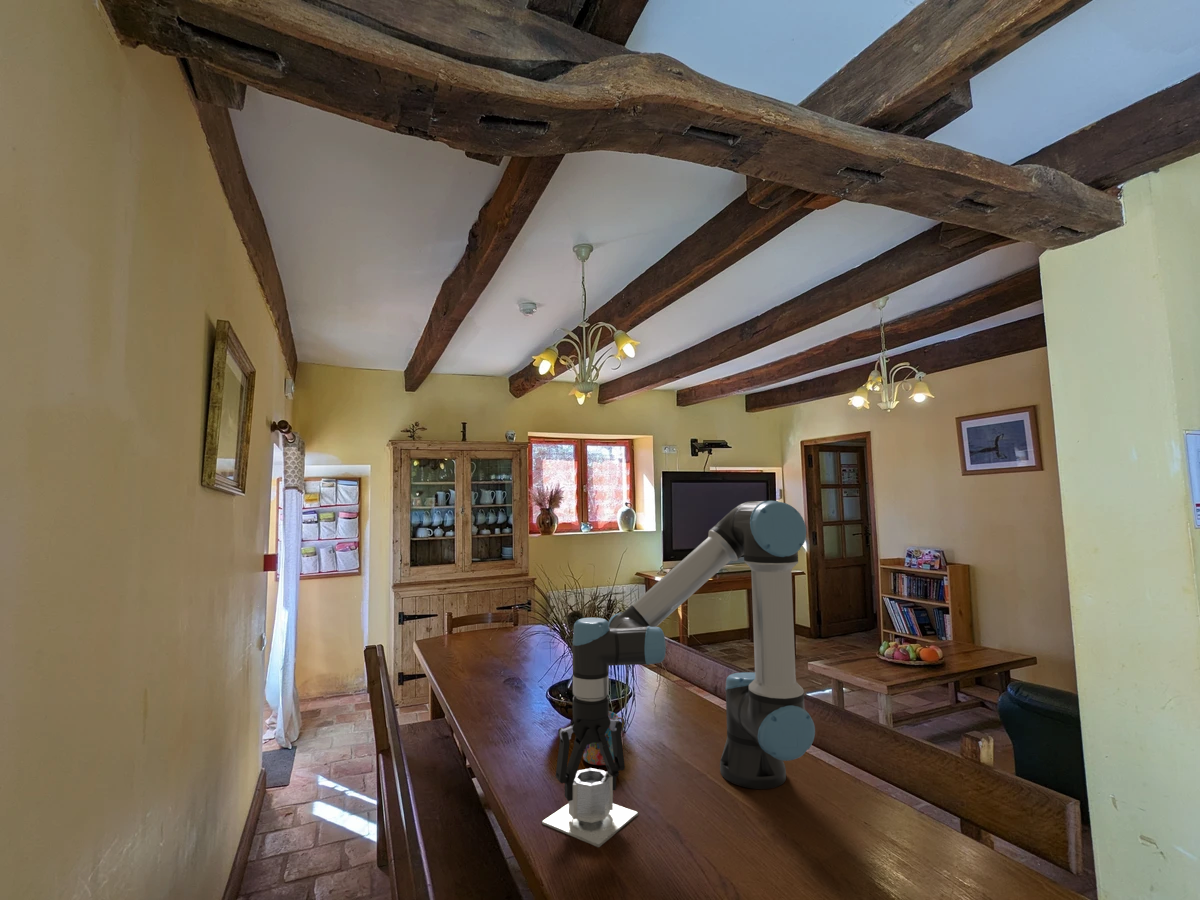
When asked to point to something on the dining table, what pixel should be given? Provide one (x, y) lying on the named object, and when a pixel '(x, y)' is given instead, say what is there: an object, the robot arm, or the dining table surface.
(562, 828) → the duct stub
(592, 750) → the mug
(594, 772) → the grey hollow octagonal block
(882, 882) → the dining table surface
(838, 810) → the dining table surface
